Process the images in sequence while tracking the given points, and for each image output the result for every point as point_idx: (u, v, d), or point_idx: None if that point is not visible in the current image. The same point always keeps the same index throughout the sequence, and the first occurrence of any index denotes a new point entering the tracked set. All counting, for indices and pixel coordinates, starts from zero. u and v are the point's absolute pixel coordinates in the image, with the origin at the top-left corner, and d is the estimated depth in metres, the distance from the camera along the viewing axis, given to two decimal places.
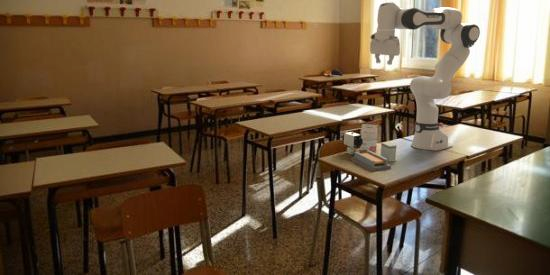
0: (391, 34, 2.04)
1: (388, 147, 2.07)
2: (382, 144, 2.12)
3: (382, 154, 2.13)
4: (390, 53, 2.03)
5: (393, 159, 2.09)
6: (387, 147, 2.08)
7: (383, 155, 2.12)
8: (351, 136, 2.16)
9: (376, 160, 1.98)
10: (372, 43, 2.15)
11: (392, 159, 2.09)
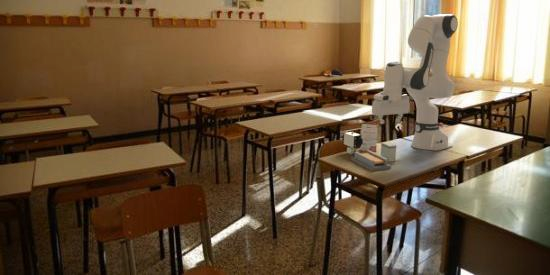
0: None
1: (388, 147, 2.07)
2: (382, 144, 2.12)
3: (382, 154, 2.13)
4: (405, 111, 2.06)
5: (393, 159, 2.09)
6: (387, 147, 2.08)
7: (383, 155, 2.12)
8: (351, 136, 2.16)
9: (376, 160, 1.98)
10: (380, 104, 2.00)
11: (392, 159, 2.09)
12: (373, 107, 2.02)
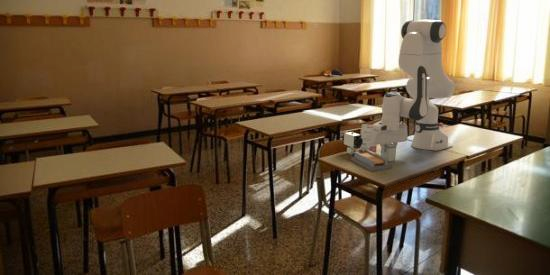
0: None
1: (388, 147, 2.07)
2: None
3: (382, 154, 2.13)
4: (403, 140, 2.10)
5: (393, 159, 2.09)
6: (387, 147, 2.08)
7: (383, 155, 2.12)
8: (351, 136, 2.16)
9: (376, 160, 1.98)
10: (378, 134, 2.04)
11: (392, 159, 2.09)
12: (371, 136, 2.06)
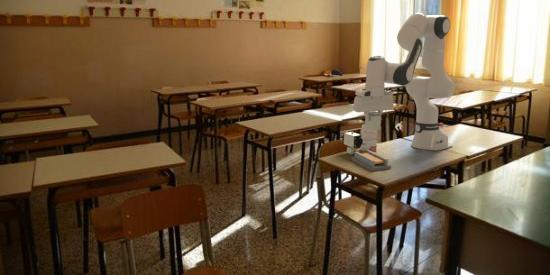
0: None
1: (372, 115, 1.95)
2: None
3: (366, 123, 2.00)
4: (388, 108, 1.98)
5: (378, 128, 1.96)
6: (371, 115, 1.95)
7: (367, 124, 1.99)
8: (351, 136, 2.16)
9: (376, 160, 1.98)
10: (362, 101, 1.91)
11: (377, 128, 1.96)
12: (355, 103, 1.93)
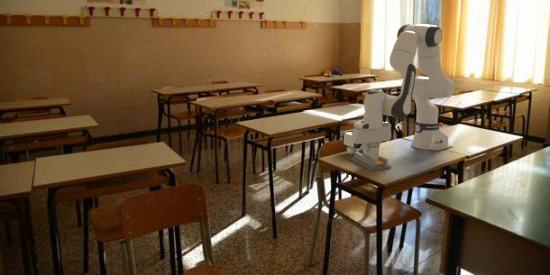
0: None
1: (370, 146, 1.99)
2: None
3: (365, 154, 2.04)
4: (386, 139, 2.02)
5: (376, 159, 2.00)
6: (370, 146, 1.99)
7: (366, 155, 2.03)
8: (351, 136, 2.16)
9: (376, 161, 1.98)
10: (360, 133, 1.95)
11: (375, 159, 2.00)
12: (353, 135, 1.97)
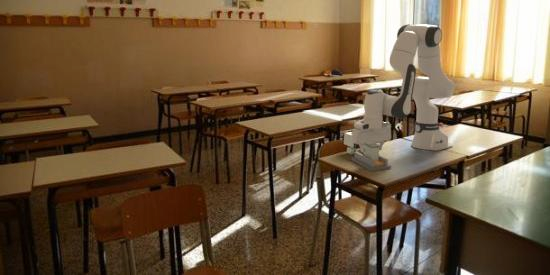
0: None
1: (370, 147, 1.99)
2: (365, 144, 2.03)
3: (365, 154, 2.04)
4: (386, 139, 2.02)
5: (376, 159, 2.00)
6: (370, 147, 1.99)
7: (366, 155, 2.03)
8: (351, 136, 2.16)
9: (376, 162, 1.99)
10: (360, 133, 1.95)
11: (375, 159, 2.00)
12: (353, 135, 1.97)
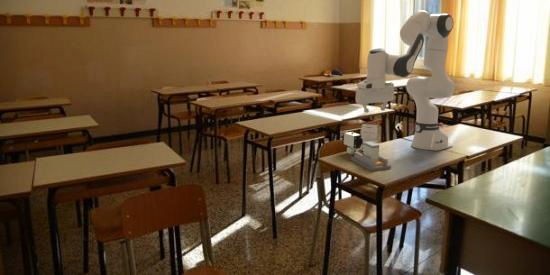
0: None
1: (370, 147, 1.99)
2: (365, 144, 2.03)
3: (365, 154, 2.04)
4: (389, 99, 2.02)
5: (376, 159, 2.00)
6: (370, 147, 1.99)
7: (366, 155, 2.03)
8: (351, 136, 2.16)
9: (376, 162, 1.99)
10: (364, 93, 1.96)
11: (375, 159, 2.00)
12: (357, 96, 1.98)
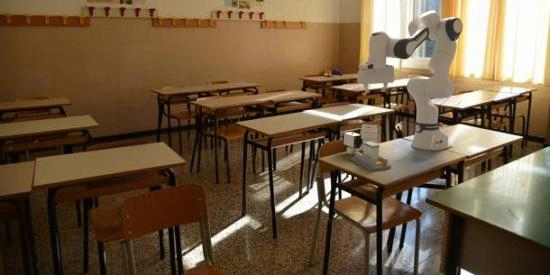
0: None
1: (370, 147, 1.99)
2: (365, 144, 2.03)
3: (365, 154, 2.04)
4: (390, 81, 2.11)
5: (376, 159, 2.00)
6: (370, 147, 1.99)
7: (366, 155, 2.03)
8: (351, 136, 2.16)
9: (376, 162, 1.99)
10: (365, 73, 2.05)
11: (375, 159, 2.00)
12: (358, 76, 2.07)
